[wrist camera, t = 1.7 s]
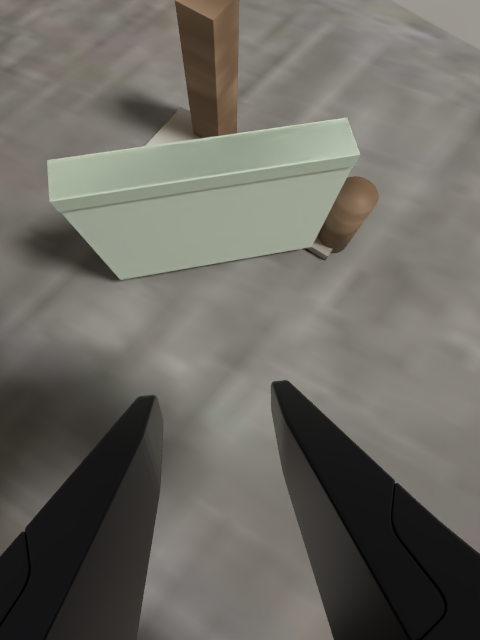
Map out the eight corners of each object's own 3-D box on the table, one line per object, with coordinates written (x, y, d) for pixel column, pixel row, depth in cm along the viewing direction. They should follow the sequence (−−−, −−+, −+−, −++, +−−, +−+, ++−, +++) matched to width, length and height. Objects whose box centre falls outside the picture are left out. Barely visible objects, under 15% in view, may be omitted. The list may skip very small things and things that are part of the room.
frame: (333, 265, 23) (397, 179, 14) (146, 152, 25) (100, 16, 16) (369, 209, 24) (448, 98, 15) (188, 106, 26) (167, -44, 17)
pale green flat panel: (304, 222, 22) (347, 117, 14) (311, 248, 22) (360, 154, 14) (117, 253, 21) (47, 160, 13) (120, 281, 21) (49, 201, 13)
